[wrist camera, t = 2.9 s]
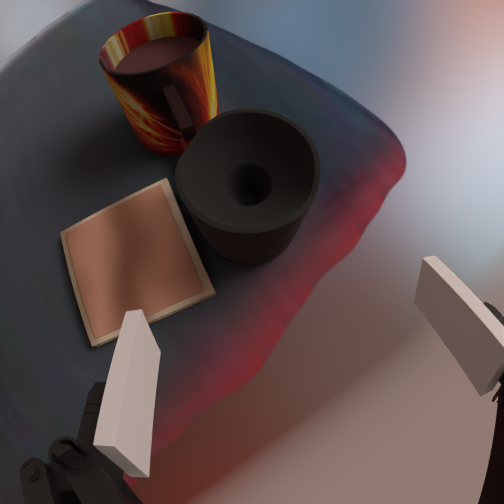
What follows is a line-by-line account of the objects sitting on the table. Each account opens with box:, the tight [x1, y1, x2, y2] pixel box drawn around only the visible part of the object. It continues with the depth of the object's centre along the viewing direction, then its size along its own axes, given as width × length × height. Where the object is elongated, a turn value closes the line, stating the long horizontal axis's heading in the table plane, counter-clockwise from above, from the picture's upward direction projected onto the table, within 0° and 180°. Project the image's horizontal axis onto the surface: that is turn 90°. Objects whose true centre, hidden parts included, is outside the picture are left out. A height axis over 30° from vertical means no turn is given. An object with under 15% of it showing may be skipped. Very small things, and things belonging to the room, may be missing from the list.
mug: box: [99, 12, 220, 156], centre depth 26 cm, size 10×14×12 cm
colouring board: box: [60, 178, 216, 347], centre depth 27 cm, size 12×12×1 cm
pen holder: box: [175, 109, 320, 264], centre depth 24 cm, size 9×9×10 cm
